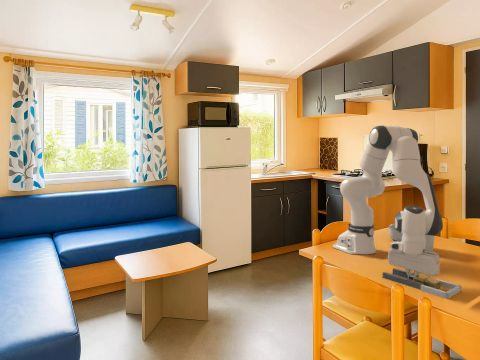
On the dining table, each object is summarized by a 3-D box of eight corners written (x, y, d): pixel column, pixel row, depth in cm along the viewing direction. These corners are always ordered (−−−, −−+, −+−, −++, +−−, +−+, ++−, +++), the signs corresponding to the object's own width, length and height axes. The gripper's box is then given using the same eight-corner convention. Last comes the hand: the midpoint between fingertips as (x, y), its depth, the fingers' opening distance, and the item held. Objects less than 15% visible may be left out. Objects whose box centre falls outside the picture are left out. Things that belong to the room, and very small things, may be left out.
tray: (420, 292, 148) (420, 285, 148) (434, 285, 155) (435, 278, 155) (447, 301, 140) (447, 293, 140) (461, 293, 147) (461, 285, 147)
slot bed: (381, 279, 162) (381, 272, 162) (395, 274, 168) (395, 267, 168) (421, 292, 149) (421, 284, 148) (434, 285, 155) (434, 278, 154)
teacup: (412, 242, 216) (412, 228, 215) (392, 242, 216) (392, 228, 215) (402, 235, 230) (402, 222, 229) (383, 236, 230) (383, 223, 229)
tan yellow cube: (414, 284, 154) (414, 276, 153) (419, 282, 156) (419, 273, 156) (424, 287, 151) (424, 279, 150) (429, 285, 153) (429, 276, 153)
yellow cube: (424, 287, 151) (425, 279, 150) (429, 285, 153) (430, 276, 152) (434, 291, 148) (435, 283, 147) (439, 289, 150) (440, 280, 149)
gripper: (443, 251, 148) (442, 286, 150) (394, 240, 165) (393, 271, 166) (435, 254, 145) (433, 290, 146) (386, 243, 161) (385, 275, 163)
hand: (412, 280), depth 156 cm, fingers closed
